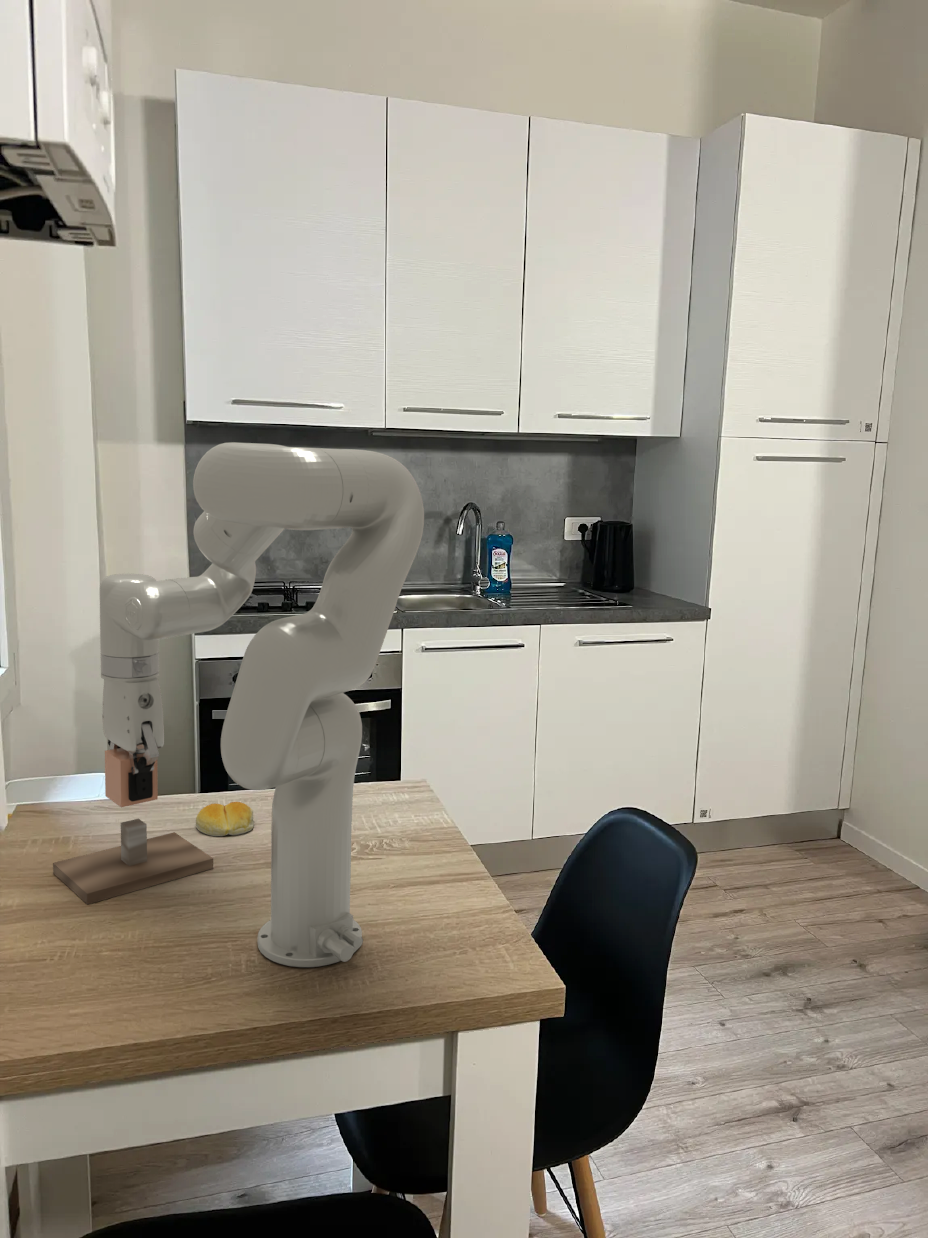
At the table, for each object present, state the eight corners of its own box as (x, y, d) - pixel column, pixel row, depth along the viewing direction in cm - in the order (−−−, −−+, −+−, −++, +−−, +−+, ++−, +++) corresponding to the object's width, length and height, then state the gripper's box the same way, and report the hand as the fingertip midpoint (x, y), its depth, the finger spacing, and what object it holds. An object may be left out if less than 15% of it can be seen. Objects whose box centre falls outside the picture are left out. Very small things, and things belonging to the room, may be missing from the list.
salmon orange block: (157, 799, 132) (157, 753, 131) (121, 807, 129) (120, 760, 128) (141, 788, 136) (140, 744, 135) (105, 796, 133) (104, 750, 131)
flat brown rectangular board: (213, 868, 136) (213, 821, 135) (87, 904, 124) (85, 853, 123) (174, 841, 144) (174, 797, 143) (53, 873, 132) (51, 825, 131)
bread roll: (197, 820, 154) (196, 796, 153) (253, 817, 156) (253, 794, 155) (193, 840, 146) (193, 815, 145) (253, 837, 148) (253, 813, 147)
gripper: (185, 674, 126) (185, 805, 129) (130, 650, 138) (131, 770, 141) (130, 682, 121) (131, 818, 124) (77, 656, 133) (80, 780, 136)
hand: (131, 791), depth 132 cm, fingers closed on salmon orange block, 5 cm apart
